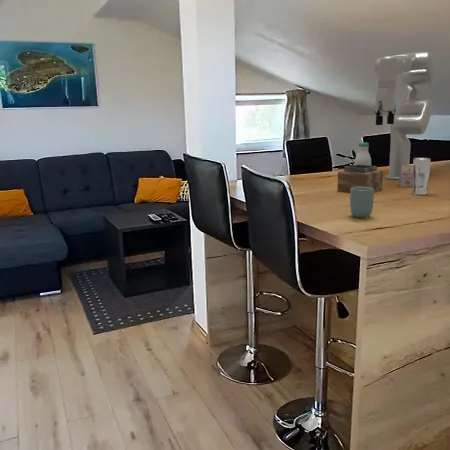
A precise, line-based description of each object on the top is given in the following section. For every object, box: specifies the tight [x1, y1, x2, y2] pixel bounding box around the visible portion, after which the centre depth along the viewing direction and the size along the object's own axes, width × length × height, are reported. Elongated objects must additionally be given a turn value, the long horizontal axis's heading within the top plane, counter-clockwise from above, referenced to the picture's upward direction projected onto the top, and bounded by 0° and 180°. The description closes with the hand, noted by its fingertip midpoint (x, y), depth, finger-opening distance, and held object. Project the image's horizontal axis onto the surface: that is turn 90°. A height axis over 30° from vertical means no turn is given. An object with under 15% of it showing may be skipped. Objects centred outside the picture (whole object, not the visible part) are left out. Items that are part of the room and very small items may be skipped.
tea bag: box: [398, 164, 413, 188], centre depth 222 cm, size 4×7×10 cm, turn 70°
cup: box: [349, 187, 375, 219], centre depth 167 cm, size 8×8×10 cm
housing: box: [337, 164, 384, 193], centre depth 215 cm, size 14×14×11 cm
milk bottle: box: [354, 142, 372, 166], centre depth 228 cm, size 8×8×20 cm
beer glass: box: [411, 157, 431, 196], centre depth 203 cm, size 7×7×15 cm
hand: (384, 124), depth 220 cm, fingers open, 9 cm apart
